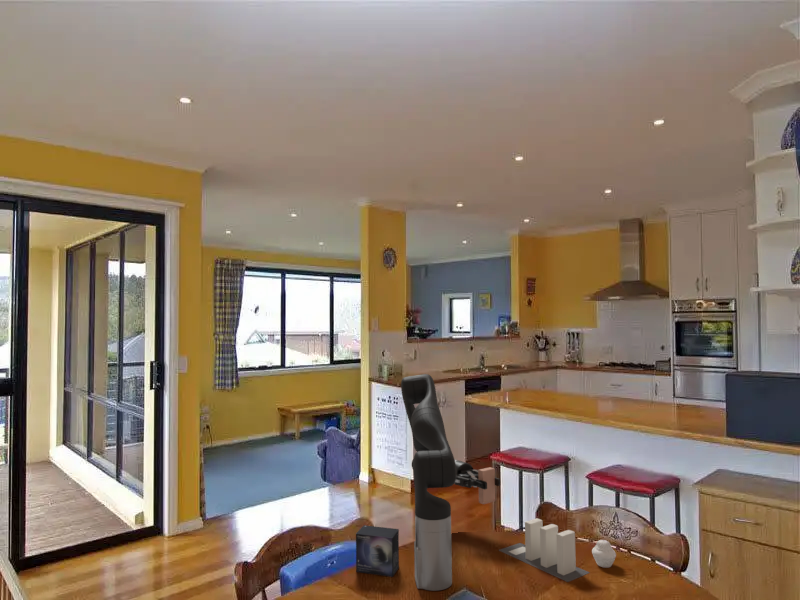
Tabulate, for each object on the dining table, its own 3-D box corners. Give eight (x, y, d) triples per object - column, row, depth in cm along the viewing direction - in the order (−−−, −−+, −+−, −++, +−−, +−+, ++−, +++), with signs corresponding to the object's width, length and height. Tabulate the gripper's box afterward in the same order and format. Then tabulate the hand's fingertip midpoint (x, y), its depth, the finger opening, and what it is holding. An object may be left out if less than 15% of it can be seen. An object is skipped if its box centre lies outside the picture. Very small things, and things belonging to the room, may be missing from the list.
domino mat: (498, 551, 160) (498, 549, 160) (520, 544, 165) (520, 542, 165) (567, 583, 140) (567, 581, 140) (590, 574, 145) (590, 572, 145)
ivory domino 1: (525, 558, 154) (524, 521, 154) (537, 554, 157) (537, 518, 157) (531, 560, 152) (530, 524, 153) (543, 556, 155) (542, 520, 156)
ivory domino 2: (540, 565, 149) (539, 527, 150) (553, 560, 152) (552, 523, 153) (546, 567, 148) (545, 529, 148) (558, 563, 151) (557, 525, 151)
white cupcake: (595, 559, 154) (595, 533, 154) (618, 564, 150) (618, 538, 151) (589, 567, 149) (588, 541, 149) (613, 573, 145) (612, 546, 145)
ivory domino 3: (557, 572, 145) (556, 533, 145) (569, 567, 148) (568, 529, 148) (563, 575, 143) (562, 536, 144) (575, 570, 146) (574, 531, 147)
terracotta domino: (478, 502, 170) (478, 469, 170) (490, 499, 173) (490, 467, 173) (483, 504, 168) (482, 471, 168) (495, 501, 171) (494, 468, 171)
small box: (354, 573, 147) (354, 533, 148) (363, 562, 154) (363, 524, 154) (392, 577, 144) (392, 537, 145) (399, 567, 150) (399, 528, 151)
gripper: (439, 463, 178) (475, 475, 164) (472, 457, 187) (509, 467, 173) (439, 487, 178) (475, 501, 164) (472, 479, 186) (509, 492, 172)
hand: (492, 484), depth 168 cm, fingers closed on terracotta domino, 5 cm apart
